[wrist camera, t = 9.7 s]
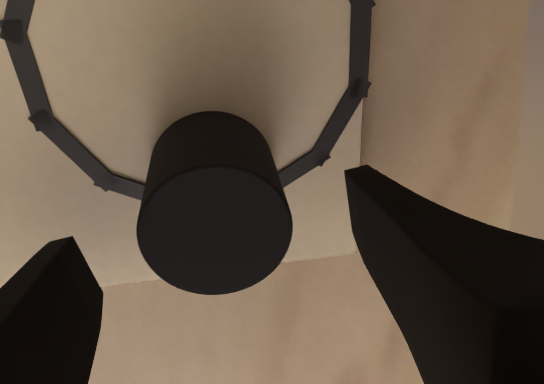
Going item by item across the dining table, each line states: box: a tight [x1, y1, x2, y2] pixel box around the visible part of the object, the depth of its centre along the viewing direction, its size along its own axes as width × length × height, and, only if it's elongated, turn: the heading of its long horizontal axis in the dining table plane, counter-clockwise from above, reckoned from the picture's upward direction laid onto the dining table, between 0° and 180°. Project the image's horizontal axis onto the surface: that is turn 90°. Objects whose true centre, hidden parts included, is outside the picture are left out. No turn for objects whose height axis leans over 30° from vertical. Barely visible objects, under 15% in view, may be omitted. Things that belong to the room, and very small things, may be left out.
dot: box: [136, 111, 293, 295], centre depth 14 cm, size 4×4×4 cm
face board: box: [0, 0, 376, 288], centre depth 14 cm, size 20×16×1 cm
